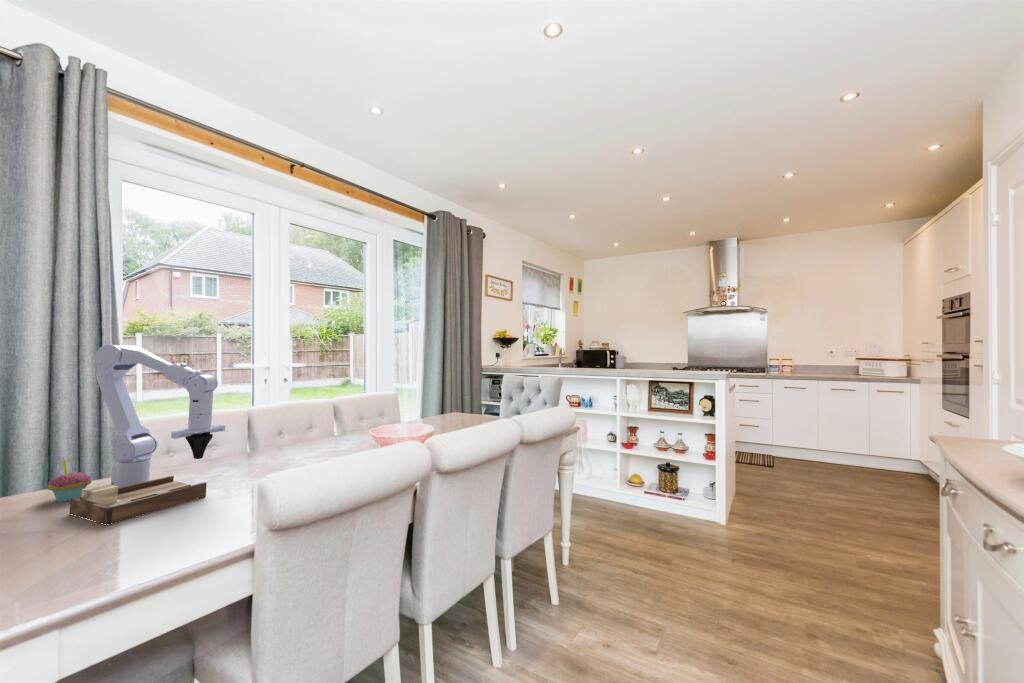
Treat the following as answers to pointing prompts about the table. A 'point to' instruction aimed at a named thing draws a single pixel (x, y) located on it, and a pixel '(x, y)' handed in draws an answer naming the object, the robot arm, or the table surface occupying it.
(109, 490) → the birch block
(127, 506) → the trap track
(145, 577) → the table surface
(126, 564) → the table surface
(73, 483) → the cupcake
